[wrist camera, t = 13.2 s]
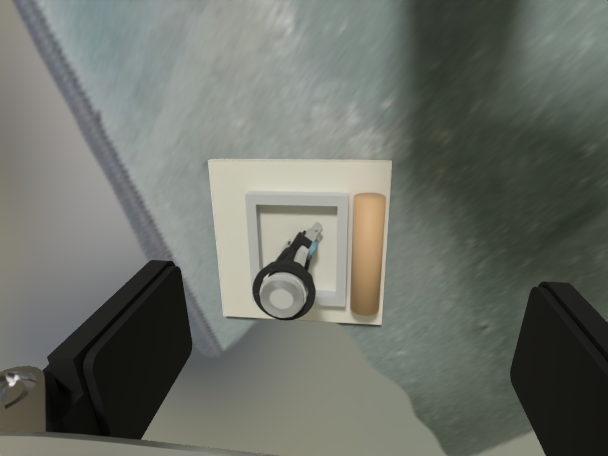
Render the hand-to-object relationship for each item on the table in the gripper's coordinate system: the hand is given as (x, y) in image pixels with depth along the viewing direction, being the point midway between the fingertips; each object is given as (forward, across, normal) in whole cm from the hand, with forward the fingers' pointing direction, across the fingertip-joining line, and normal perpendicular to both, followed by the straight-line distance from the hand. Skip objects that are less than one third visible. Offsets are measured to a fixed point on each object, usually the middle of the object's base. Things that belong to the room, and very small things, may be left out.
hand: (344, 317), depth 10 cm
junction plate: (+28, +5, +11) cm, 31 cm away
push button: (+27, +5, +11) cm, 30 cm away
